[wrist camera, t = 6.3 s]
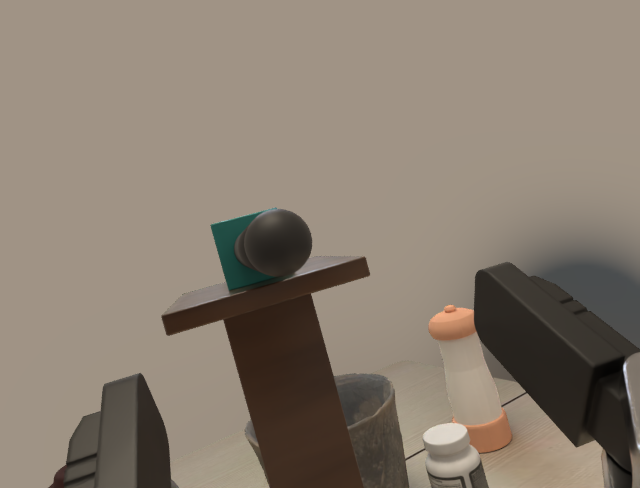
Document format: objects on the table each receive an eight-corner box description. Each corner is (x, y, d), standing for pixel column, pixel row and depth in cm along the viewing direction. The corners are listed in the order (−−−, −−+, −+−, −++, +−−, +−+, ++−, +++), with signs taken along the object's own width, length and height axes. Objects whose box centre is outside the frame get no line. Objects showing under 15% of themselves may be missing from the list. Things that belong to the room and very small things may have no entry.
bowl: (258, 532, 62) (225, 415, 61) (378, 469, 69) (349, 364, 69) (316, 619, 46) (271, 461, 45) (464, 525, 53) (427, 388, 52)
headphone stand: (958, 615, 32) (838, 119, 31) (345, 968, 24) (160, 315, 23) (746, 512, 44) (657, 159, 43) (302, 719, 37) (182, 294, 36)
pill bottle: (477, 500, 56) (454, 415, 56) (509, 525, 51) (484, 431, 51) (432, 520, 55) (409, 433, 55) (460, 549, 49) (434, 452, 49)
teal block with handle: (359, 286, 14) (326, 163, 14) (236, 323, 14) (199, 194, 14) (276, 268, 36) (263, 219, 36) (226, 282, 35) (212, 232, 35)
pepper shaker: (517, 427, 70) (482, 295, 70) (503, 454, 64) (465, 310, 64) (467, 426, 74) (434, 301, 74) (450, 451, 69) (414, 316, 68)
